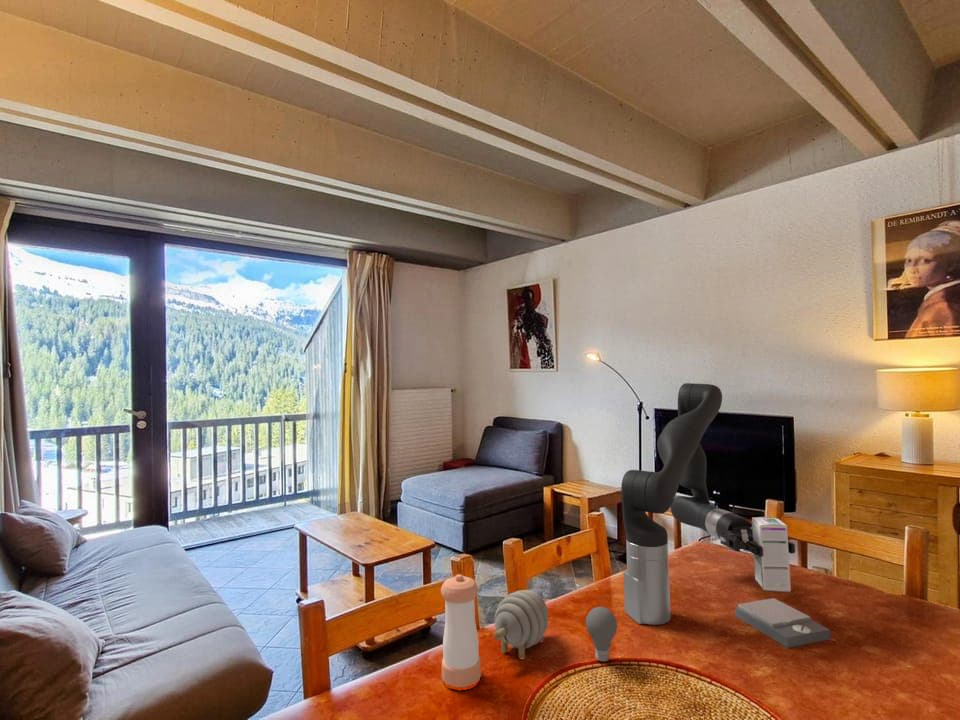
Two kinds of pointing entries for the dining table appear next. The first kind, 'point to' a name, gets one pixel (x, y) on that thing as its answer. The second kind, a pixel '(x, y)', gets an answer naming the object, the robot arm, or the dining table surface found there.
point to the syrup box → (771, 554)
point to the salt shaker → (460, 633)
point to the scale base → (788, 630)
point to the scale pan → (774, 612)
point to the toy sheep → (521, 620)
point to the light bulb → (601, 630)
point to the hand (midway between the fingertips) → (777, 550)
